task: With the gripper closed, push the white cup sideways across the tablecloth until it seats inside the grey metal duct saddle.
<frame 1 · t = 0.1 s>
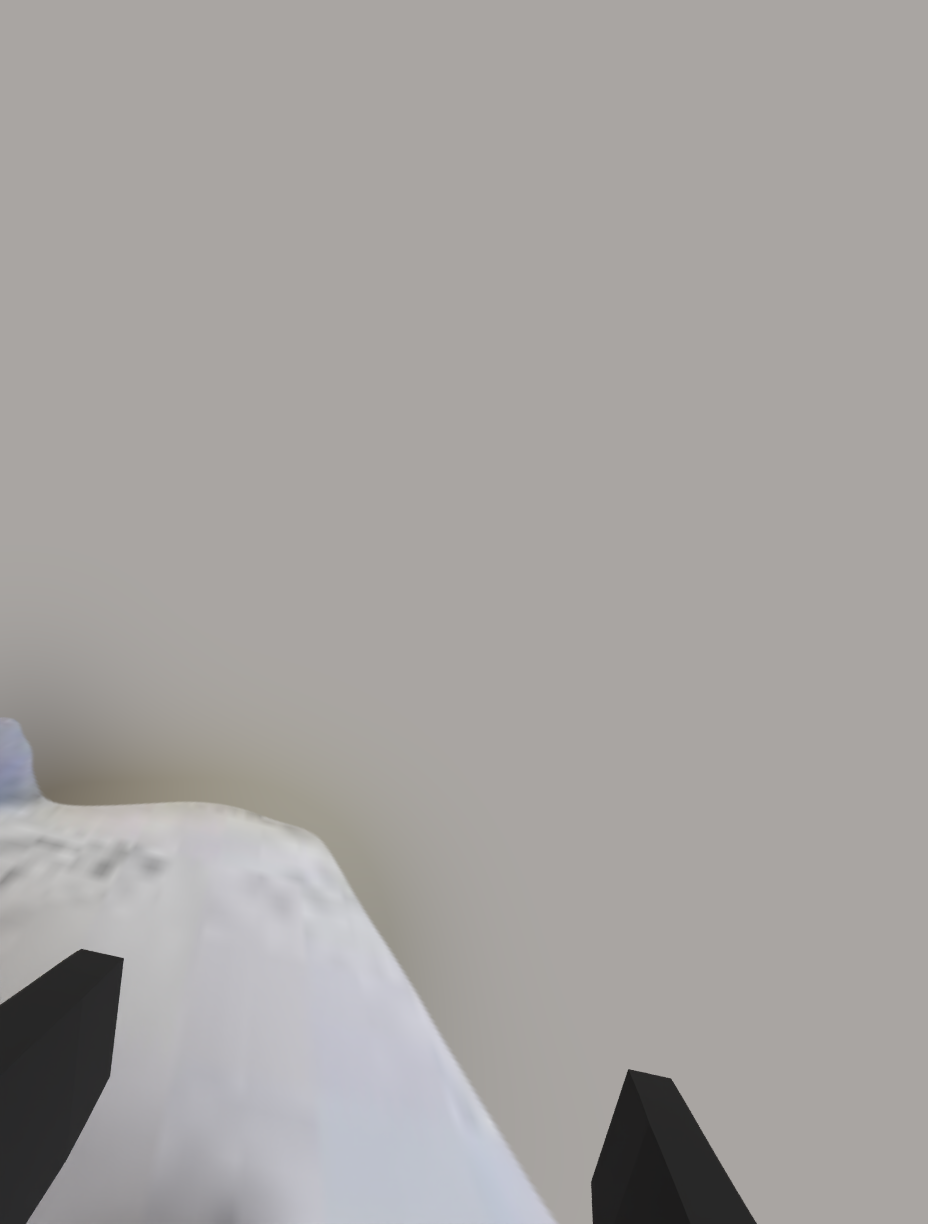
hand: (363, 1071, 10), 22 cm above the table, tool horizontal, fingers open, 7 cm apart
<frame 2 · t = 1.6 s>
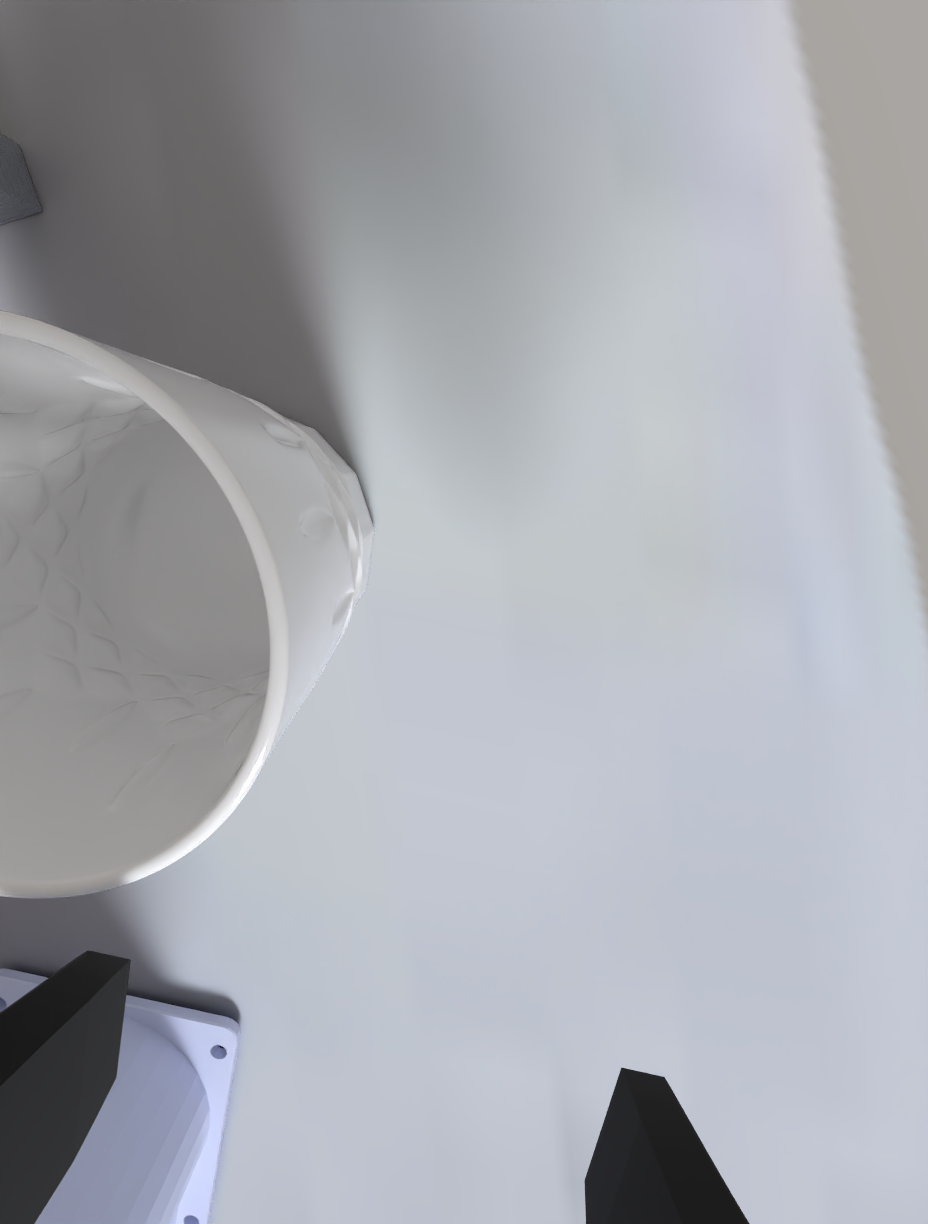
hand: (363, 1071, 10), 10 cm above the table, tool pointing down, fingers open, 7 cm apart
white cup: (253, 536, 19), on the table
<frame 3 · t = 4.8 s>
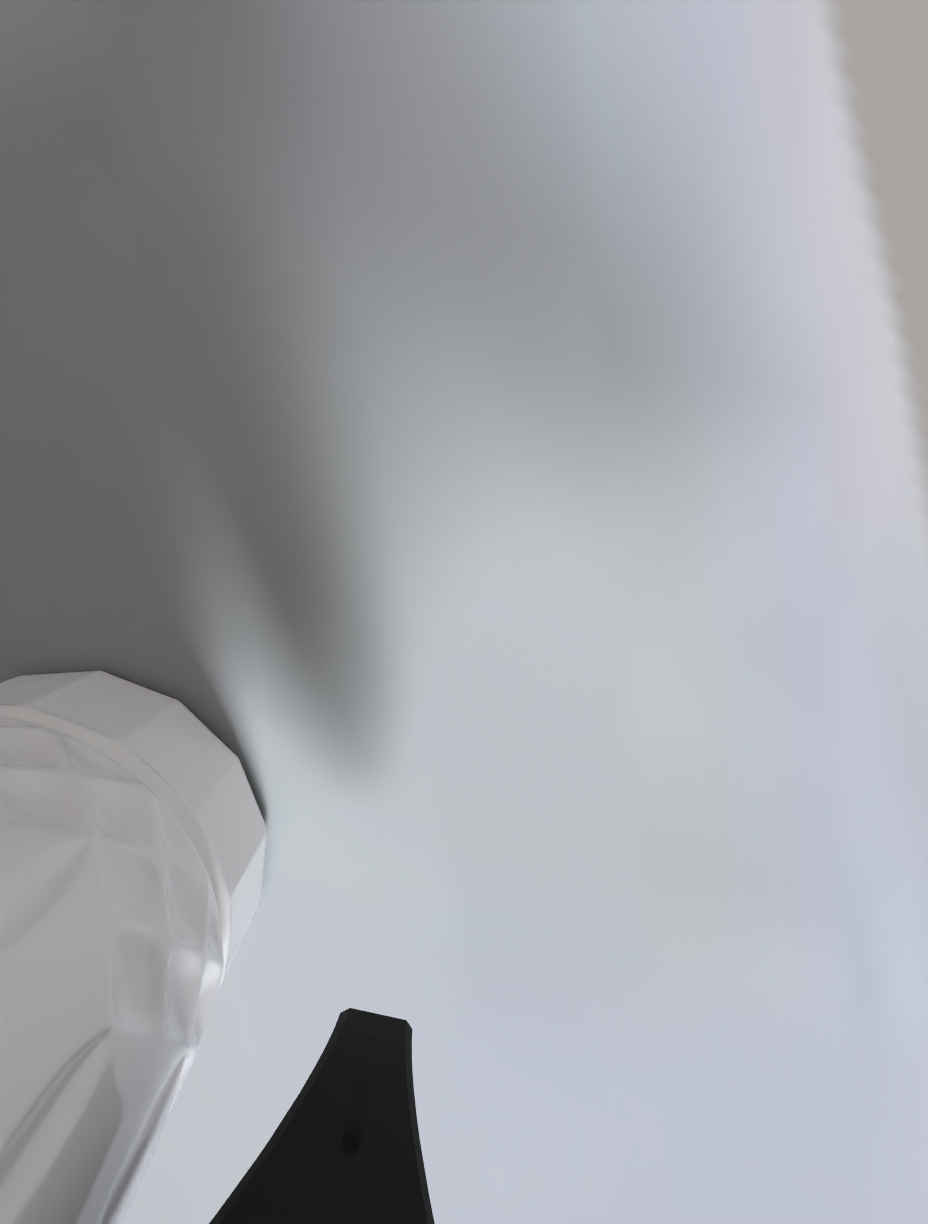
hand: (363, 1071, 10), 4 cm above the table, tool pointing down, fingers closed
white cup: (106, 827, 14), on the table, touching gripper
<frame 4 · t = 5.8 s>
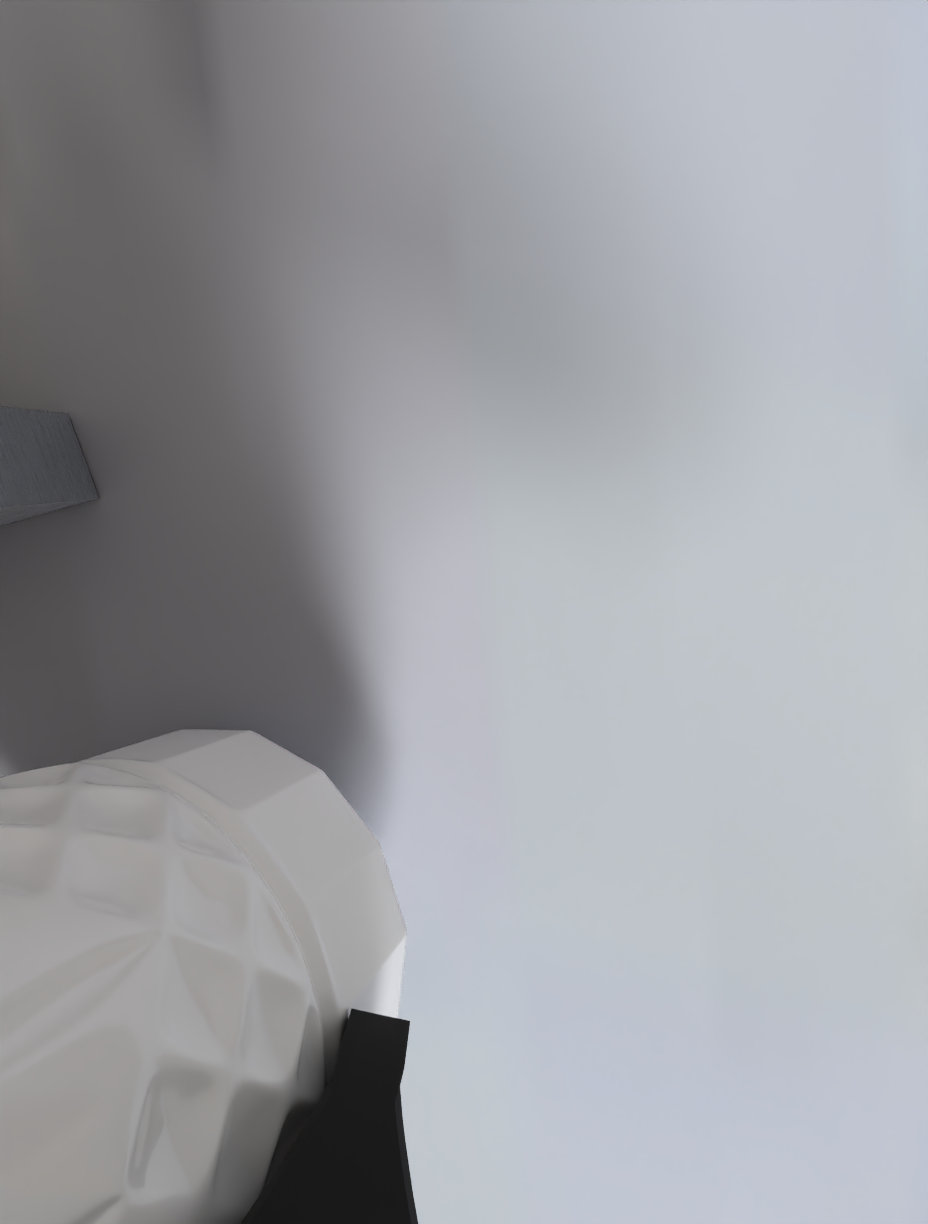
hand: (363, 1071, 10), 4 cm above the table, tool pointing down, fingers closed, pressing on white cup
white cup: (254, 898, 13), point 1 cm above the table, touching gripper
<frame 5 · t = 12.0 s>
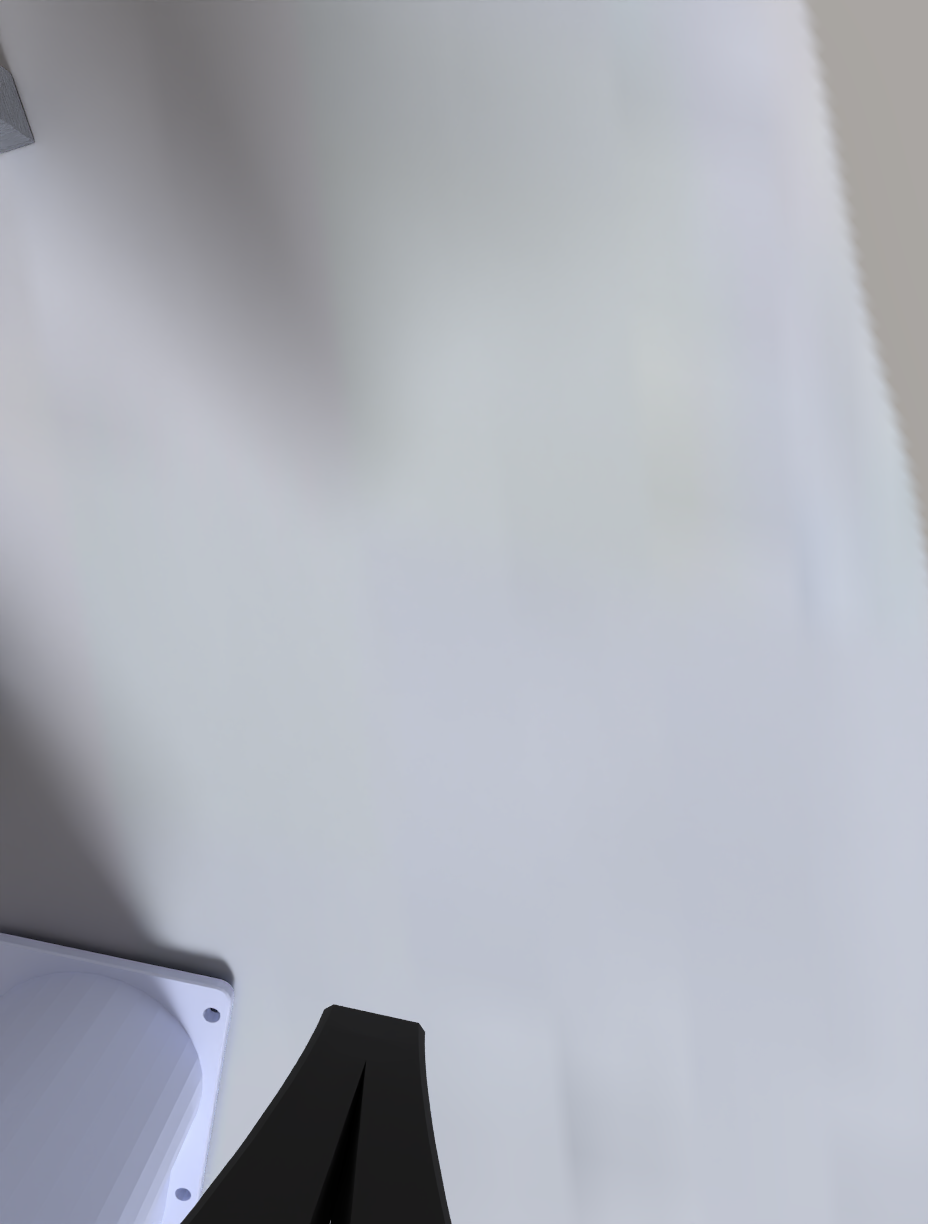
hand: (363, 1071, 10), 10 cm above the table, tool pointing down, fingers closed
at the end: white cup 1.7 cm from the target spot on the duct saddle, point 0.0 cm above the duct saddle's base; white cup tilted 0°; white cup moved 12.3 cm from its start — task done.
